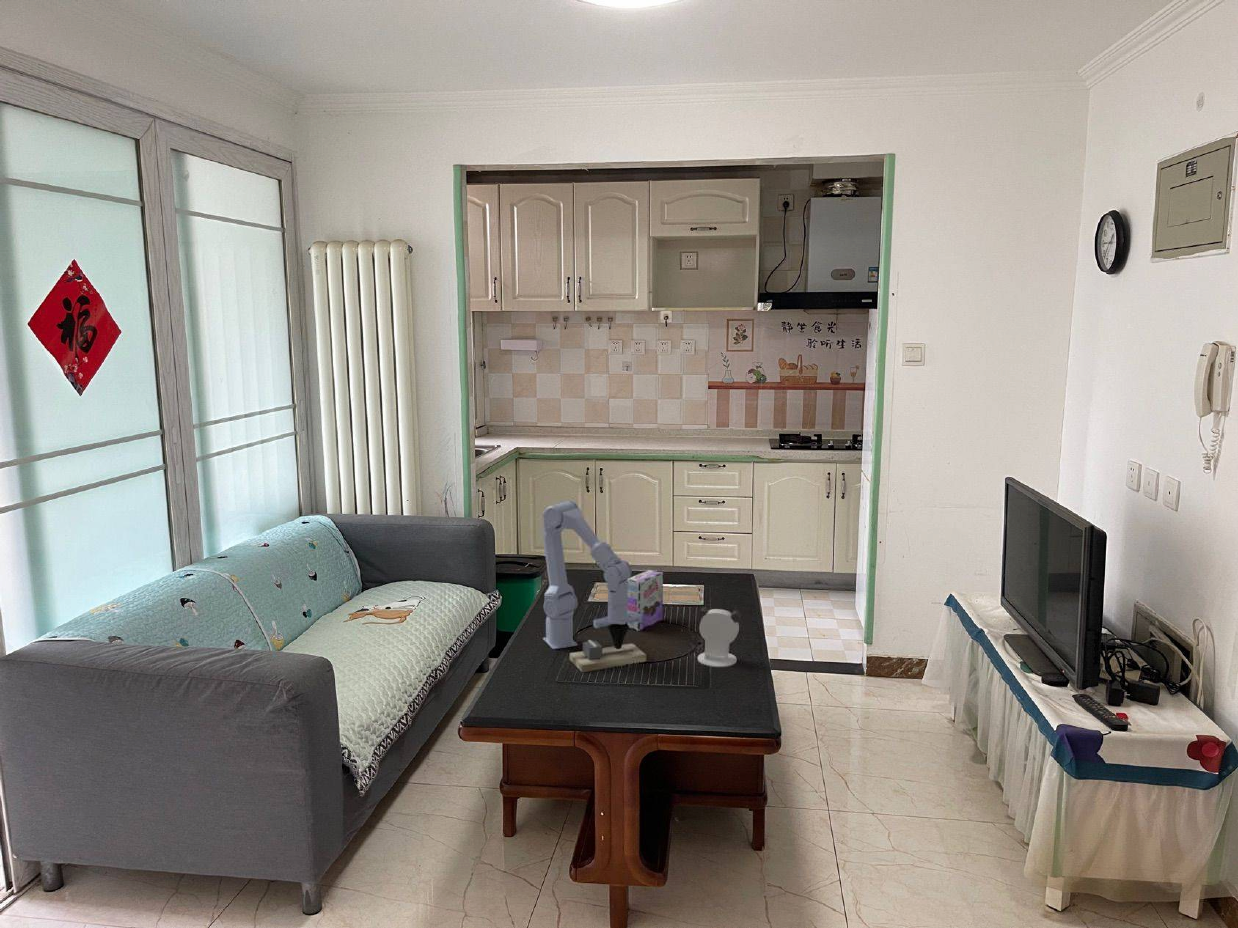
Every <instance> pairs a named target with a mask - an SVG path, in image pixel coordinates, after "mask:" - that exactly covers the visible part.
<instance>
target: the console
mask: <svg viewBox="0 0 1238 928" xmlns="http://www.w3.org/2000/svg"><path fill="white" fill-rule="evenodd" d="M569 661H571V662H572V663H573V665H574V666H576V668H577V669H578V670H579V671H580V672H581V673H586V672H592V671H599V670H603V669H604V670H605V669H609V668H615V667H614V666H616V667H621V666H627V665H626V664H628V665H633V663H634V664H639V662H640V663H644V662H645V661H646V662H647V654H646V653H645V652H643V651H642V650H641V649H640V648H639V647H637V646H636V645H635V644H634V643H624V644H622V647H621V649H616V648H615V647H614V645H612V646H607V647H602V657H599V658H593V659H589V658H588V657H587V656H586V655H585V654H584V653H583V650H582V651H576V652H570V653H569Z"/></svg>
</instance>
